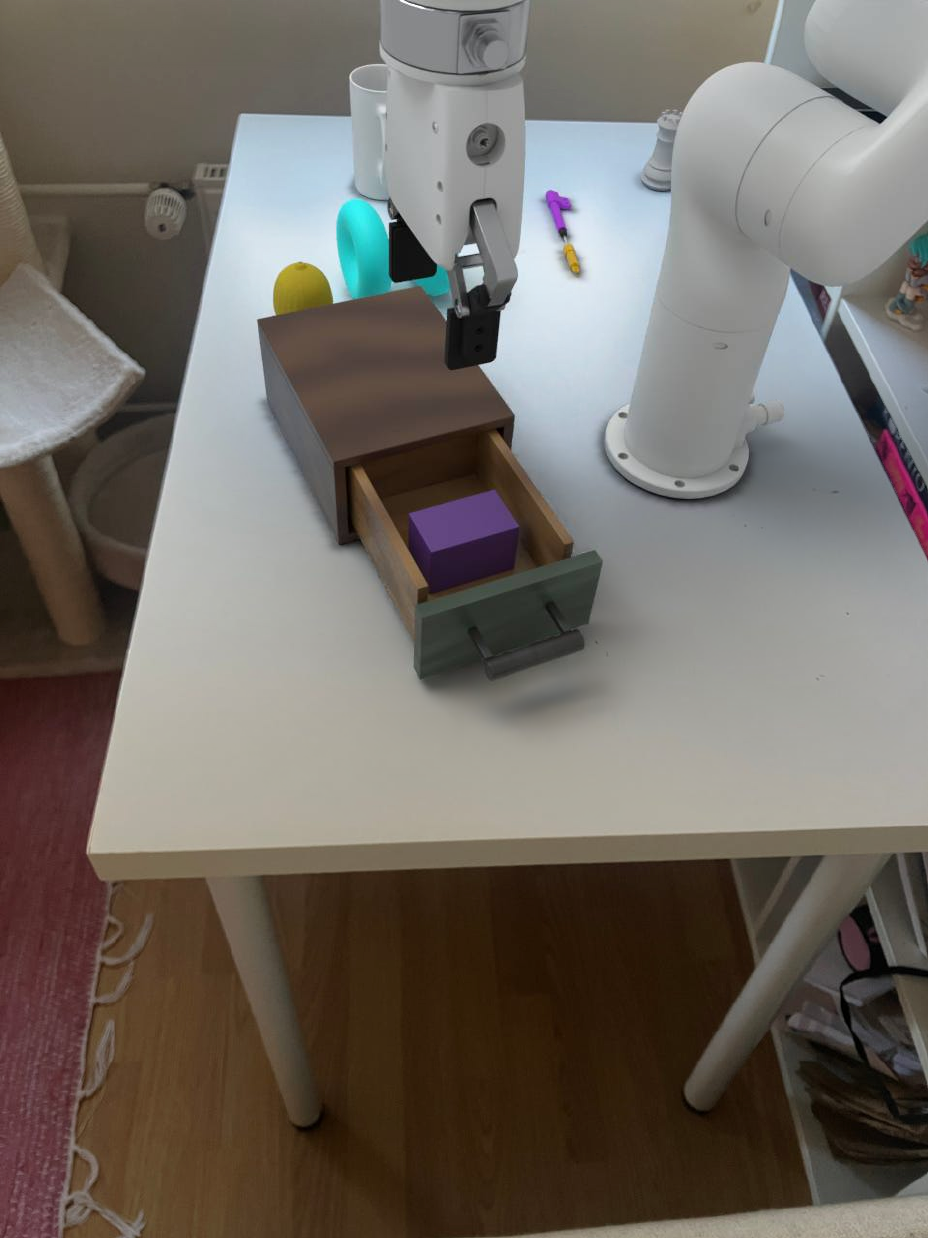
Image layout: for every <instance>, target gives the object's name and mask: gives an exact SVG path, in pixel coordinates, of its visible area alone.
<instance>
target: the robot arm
mask: <svg viewBox="0 0 928 1238" xmlns="http://www.w3.org/2000/svg"><path fill="white" fill-rule="evenodd" d="M378 3H379V4H378V5H379V6H378V7H379V8H378V11H379V13H378V14H379V19H378V20H379V24H378V25H379V30H378V31H379V39H378V40H379V43H378V44H379V45H378V46H379V51H378V52H379V56H380V58H381V60H382V61H383V62H384V64H386V65H388V66H389V67H388V81H387V98H386V122H385V167H386V181H387V188H388V192H389V195H390V197H389V199H388V200H387V202H386V209H387V214H388V217H389V219H390V220H391V222H388V239H389V277H390V278H391V280H392V283H395V284H400V283H404V282H405V283H406V282H410V281H414V280H417V279H422V278H428V277H433V276H434V275H435V274H436V272H437V264H438V265H439V266H440V267H442V268H444V269H446V270H447V275H448V280H449V285H450V290H449V291H450V294H451V295H450V296H451V298H452V304H453V306H452V307H447V309H446V339H445V358H444V362H445V364H446V366H447V367H448V369H449V370H457V369H461V368H466V367H471V366H476V365H479V366H480V365H481V366H482V365H485V364H490V363H492V362H494V361H495V360H496V358H497V353H498V344H499V336H500V335H499V333H500V326H501V325H500V323H501V315H502V311H504V310H505V309H506V305H507V304H509V303H510V300H511V298H512V291H513V289H514V287H515V285H516V283H517V281H518V278H519V271H518V266H517V264H516V261H515V259H516V257H517V256H518V253H519V249H520V245H521V235H522V222H523V206H524V193H525V192H524V191H525V190H524V189H525V172H526V171H525V169H526V105H525V104H526V103H525V94H524V92H525V90H524V78H523V77H522V75H521V73H520V72H521V71H523V68H524V67H525V65H526V59H527V51H528V50H527V49H528V39H529V29H530V28H529V27H530V18H531V10H532V9H531V8H532V0H379V2H378ZM803 46H804V50H805V53H806V56H807V58H808V60H809V62H810V64H811V65H812V66H813V67H814V69H815V70H816V71H817V73H819V74H820V75H821V76H822V77H823V78H825V79H826V80H827V81H829V83H831V84H832V85H833V86H835V87H836V88H838V89H839V90H841V91H842V92H844V93H845V94H847V95H848V96H850V97H852V98H854V99H855V100H857V101H858V102H860V103H862V104H864V105H865V106H867V107H869V108H871V109H873V111H876V112H878V113H880V114H881V115H883V116H885V117H886V118H885V119H883V121H882V122H881V123H879V122H878V121H876V120H874V119H872V118H870V117H868V116H867V115H865V114H863V113H862V112H860V111H859V110H856V109H855V108H853V107H851V106H849V105H848V104H847V103H845V102H844V101H842V100H841V99H840V98H838V97H836V96H834V95H832V94H830V92H827V91H826V90H824V89H822V88H820V87H818V86H817V85H815V84H813V83H812V82H810V81H808V80H807V79H805V78H803V77H801V76H799V75H798V74H796V73H794V72H792V71H790V70H787V69H786V68H783V67H780V66H777V65H775V64H774V65H773V64H770V63H766V62H760V61H745V62H738V63H734V64H731V65H728V66H725V67H723V68H722V69H720V70H718V71H716V72H715V73H713V74H712V75H710V76H709V77H707V78H706V79H705V80H704V81H703V83H702V84H700V86H699V87H697V89H696V91H694V93H693V94H692V95H691V97H690V99H689V100H688V103H687V104H686V105H685V108H684V110H683V112H682V113H683V114H682V116H681V119H680V121H679V124H678V128H677V131H676V135H675V140H674V146H673V154H672V167H671V189H670V209H669V219H668V228H667V229H668V230H667V235H666V242H665V247H664V252H663V257H662V262H661V266H660V269H659V270H660V271H659V274H658V280H657V283H656V286H655V292H654V295H653V301H652V304H651V309H650V313H649V318H648V322H647V327H646V331H645V336H644V340H643V345H642V348H641V353H640V358H639V362H638V367H637V371H636V374H635V378H634V379H635V380H634V384H633V389H632V393H631V397H630V402H629V403H627V404H625V405H624V406H622V407H620V408H618V410H617V411H616V412H614V413H613V415H612V416H611V417H610V419H609V420H608V422H607V425H606V429H605V434H604V439H603V444H604V450H605V453H606V456H607V458H608V460H609V462H610V463H611V465H612V466H613V467H614V469H615V470H616V471H617V472H618V473H619V474H620V475H621V476H622V477H623V478H625V479H626V480H628V481H629V482H631V483H632V484H633V485H635V486H637V487H639V488H641V489H643V490H645V491H648V492H650V493H654V494H655V495H659V496H663V497H668V498H673V499H685V500H691V499H693V500H694V499H704V498H708V497H713V496H716V495H719V494H721V493H724V492H726V491H727V490H729V489H730V488H732V487H734V486H735V485H736V484H737V483H738V482H739V481H740V479H741V478H742V477H743V475H744V473H745V471H746V468H747V465H748V461H749V459H750V457H749V456H750V449H749V445H748V441H747V439H746V437H747V435H748V434H751V433H753V432H754V431H755V429H756V428H757V427H759V426H767V425H770V424H774V423H778V422H781V421H782V420H783V419H784V417H785V408H784V404H783V403H782V402H781V401H780V400H779V399H774V400H773V399H772V400H770V401H766V402H763V403H762V402H761V403H759V404H757V405H755V406H750V405H753V404H754V403H755V401H756V395H755V392H754V388H755V385H756V382H757V380H758V377H759V373H760V371H761V367H762V364H763V361H764V358H765V355H766V354H767V353H766V352H767V350H768V347H769V343H770V341H771V338H772V335H773V333H774V329H775V327H776V323H777V320H778V317H779V316H780V314H781V310H782V307H783V304H784V301H785V299H786V295H787V291H788V287H789V281H790V277H791V270H793V272H795V273H797V274H798V275H800V276H801V277H803V278H805V279H806V280H808V281H810V282H812V283H814V284H817V285H820V286H823V287H829V288H835V287H843V286H847V285H850V284H853V283H856V282H858V281H860V280H862V279H863V278H865V277H867V276H868V275H870V274H871V273H873V272H875V270H876V269H878V268H879V267H880V266H882V265H883V264H884V263H886V261H888V260H889V259H890V258H891V257H893V255H894V254H895V253H897V252H898V250H900V248H902V247H903V246H904V245H905V244H906V243H907V242H908V241H909V240H910V239H911V238H912V237H913V236H914V235H916V234H917V232H918V231H919V230H920V229H921V228H922V227H923V226H925V224H926V223H927V222H928V0H815V1H814V2H813V4H812V6H811V8H810V10H809V12H808V15H807V17H806V20H805V24H804V29H803ZM395 220H396V221H395ZM470 245H476V247H477V250H478V252H477V253H473V254H466V255H461V256H459V257H458V256H457V253H458V254H461V252H462V250H463V248H464V246H470ZM480 267H482V270H483V276H482V281H483V282H482V284H477V285H476V286H474V287H473V288H471V289H470V290H469V291H468V290H467V289H468V288H467V285H466V281H465V280H466V279H465V275H464V270H468V269H474V268H480Z"/></svg>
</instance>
